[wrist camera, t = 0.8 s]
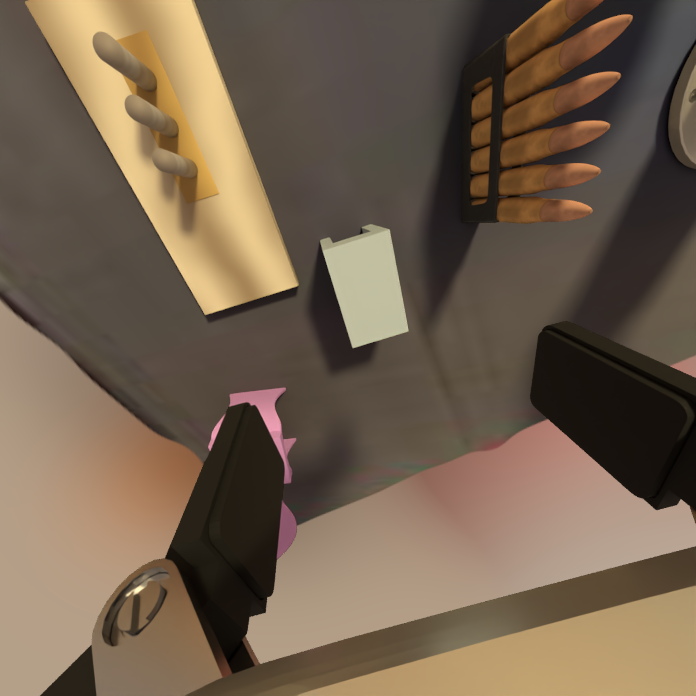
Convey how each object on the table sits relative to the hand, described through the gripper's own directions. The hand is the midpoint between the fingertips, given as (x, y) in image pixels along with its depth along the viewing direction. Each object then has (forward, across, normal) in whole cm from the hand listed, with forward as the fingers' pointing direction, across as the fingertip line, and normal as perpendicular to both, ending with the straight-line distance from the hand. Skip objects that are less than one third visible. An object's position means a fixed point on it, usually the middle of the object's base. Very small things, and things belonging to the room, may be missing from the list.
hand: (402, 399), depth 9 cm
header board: (+19, +9, -10) cm, 24 cm away
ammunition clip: (+20, -13, -7) cm, 25 cm away
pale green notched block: (+19, -1, 0) cm, 19 cm away
